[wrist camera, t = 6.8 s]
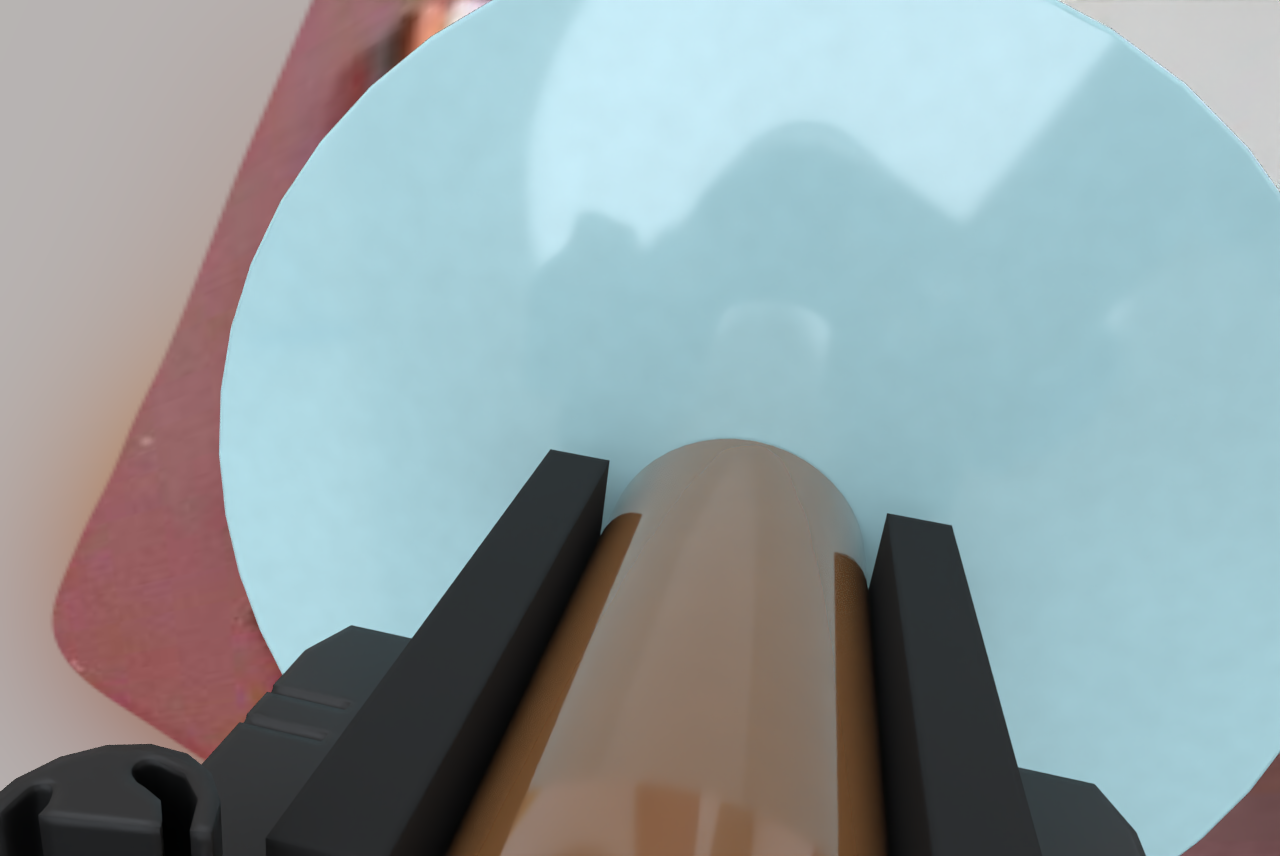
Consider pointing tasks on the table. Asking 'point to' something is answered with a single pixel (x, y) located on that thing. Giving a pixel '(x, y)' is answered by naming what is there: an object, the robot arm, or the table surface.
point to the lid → (783, 400)
